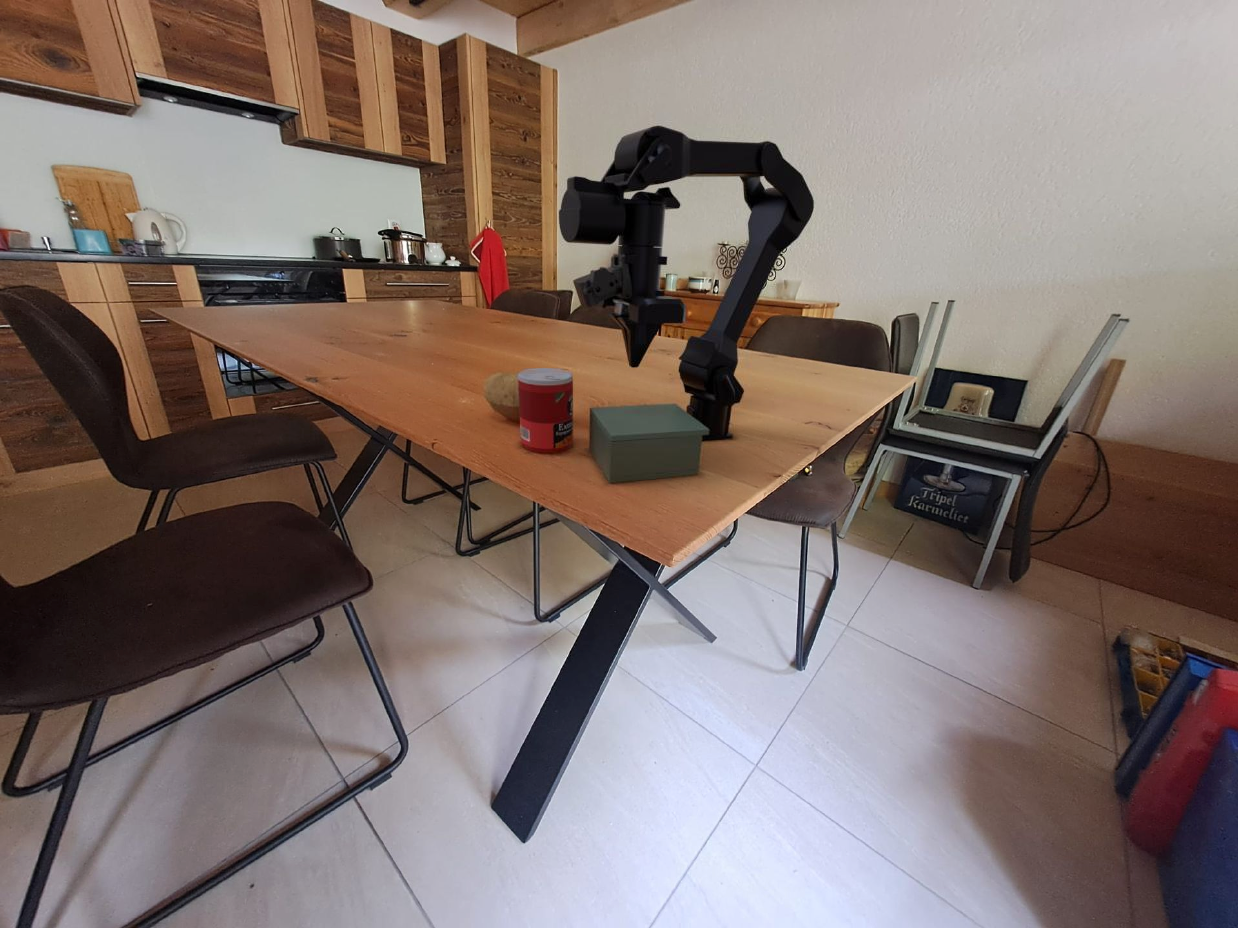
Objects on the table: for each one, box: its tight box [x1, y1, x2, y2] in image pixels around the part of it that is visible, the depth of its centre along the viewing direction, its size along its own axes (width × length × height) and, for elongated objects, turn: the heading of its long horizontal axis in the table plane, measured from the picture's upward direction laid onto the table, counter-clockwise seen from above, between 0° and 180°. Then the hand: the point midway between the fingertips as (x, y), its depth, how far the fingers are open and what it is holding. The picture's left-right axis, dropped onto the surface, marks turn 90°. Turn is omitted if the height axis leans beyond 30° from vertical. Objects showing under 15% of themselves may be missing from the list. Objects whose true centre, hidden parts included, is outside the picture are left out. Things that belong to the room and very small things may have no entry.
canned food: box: [517, 367, 574, 455], centre depth 70 cm, size 8×8×11 cm
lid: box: [589, 403, 709, 441], centre depth 65 cm, size 14×12×1 cm
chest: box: [588, 413, 703, 484], centre depth 67 cm, size 13×12×6 cm
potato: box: [482, 372, 520, 423], centre depth 81 cm, size 10×14×8 cm
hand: (633, 367), depth 67 cm, fingers closed
